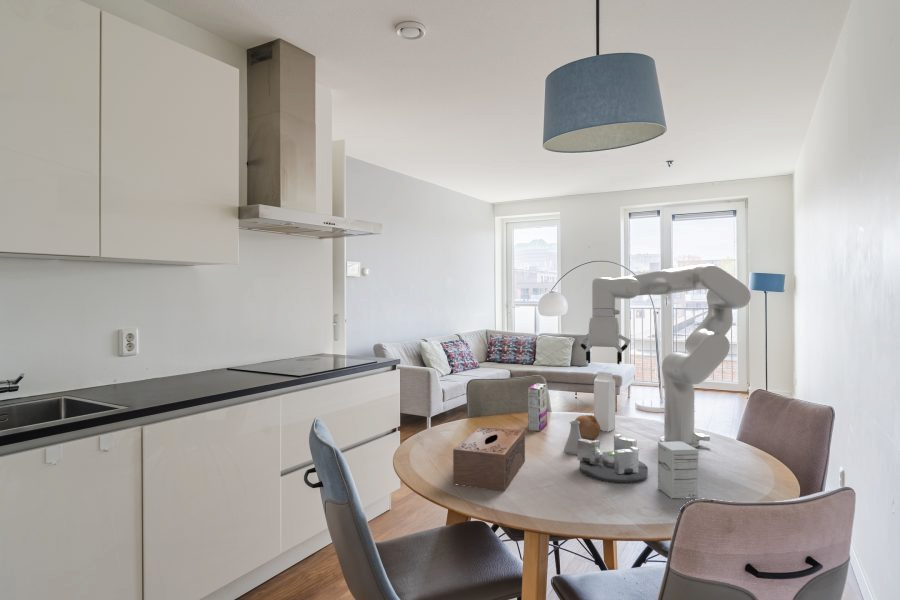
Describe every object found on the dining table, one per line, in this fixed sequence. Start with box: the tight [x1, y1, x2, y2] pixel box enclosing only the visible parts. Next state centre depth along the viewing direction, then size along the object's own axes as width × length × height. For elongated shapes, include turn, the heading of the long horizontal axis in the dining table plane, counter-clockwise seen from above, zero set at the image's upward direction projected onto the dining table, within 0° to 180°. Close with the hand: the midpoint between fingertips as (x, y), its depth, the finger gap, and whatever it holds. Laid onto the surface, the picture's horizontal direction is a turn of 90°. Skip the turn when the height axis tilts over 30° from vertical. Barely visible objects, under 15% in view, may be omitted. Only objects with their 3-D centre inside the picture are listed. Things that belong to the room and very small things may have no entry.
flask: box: [563, 420, 582, 455], centre depth 168 cm, size 7×7×10 cm
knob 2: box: [613, 446, 640, 474], centre depth 142 cm, size 4×6×7 cm, turn 102°
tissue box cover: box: [452, 426, 526, 492], centre depth 149 cm, size 26×14×10 cm, turn 160°
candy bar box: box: [527, 383, 548, 432], centre depth 198 cm, size 11×5×16 cm, turn 155°
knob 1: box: [613, 433, 637, 451], centre depth 154 cm, size 4×6×7 cm, turn 42°
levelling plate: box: [579, 450, 649, 485], centre depth 149 cm, size 19×19×6 cm
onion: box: [574, 414, 601, 441], centre depth 181 cm, size 10×9×10 cm
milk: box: [593, 371, 616, 433], centre depth 195 cm, size 6×6×22 cm
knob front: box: [576, 439, 601, 465], centre depth 151 cm, size 4×6×7 cm, turn 42°
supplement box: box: [657, 441, 699, 499], centre depth 132 cm, size 7×7×13 cm
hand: (603, 363), depth 174 cm, fingers open, 9 cm apart
